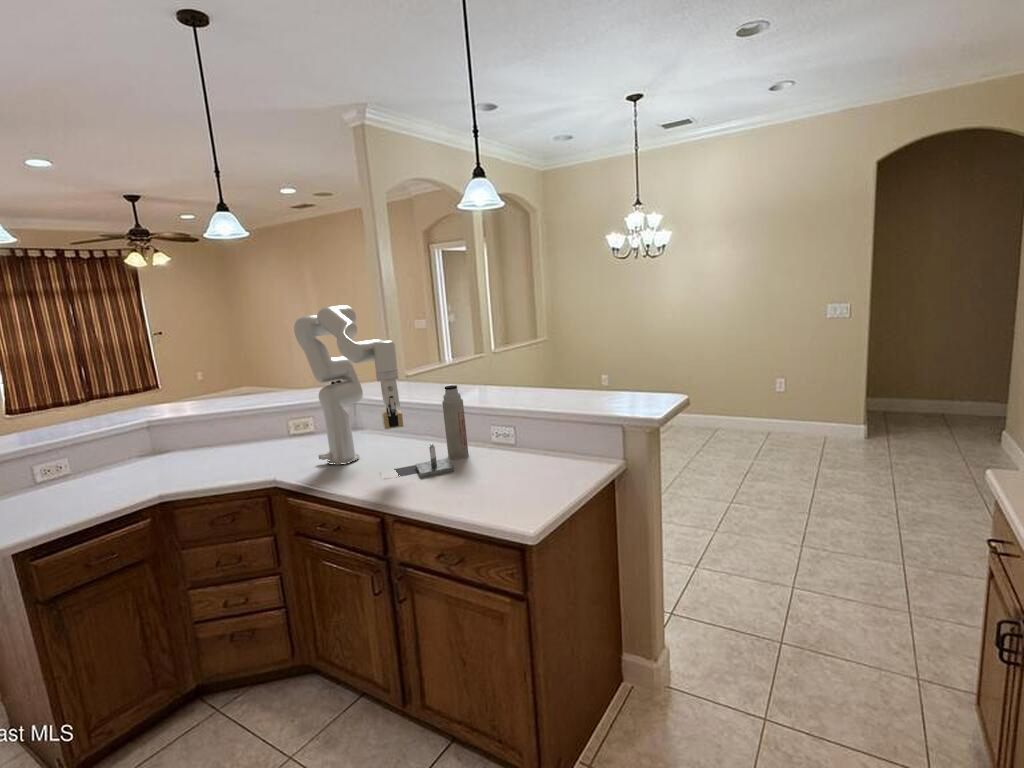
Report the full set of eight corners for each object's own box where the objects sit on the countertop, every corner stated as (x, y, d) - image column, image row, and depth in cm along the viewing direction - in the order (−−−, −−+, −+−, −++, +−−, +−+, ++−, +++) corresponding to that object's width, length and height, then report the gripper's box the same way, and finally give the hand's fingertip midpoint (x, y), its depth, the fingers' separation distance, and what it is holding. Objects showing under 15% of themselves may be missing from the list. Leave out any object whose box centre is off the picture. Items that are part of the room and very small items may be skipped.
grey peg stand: (421, 478, 186) (417, 451, 184) (415, 469, 197) (412, 443, 195) (454, 472, 190) (451, 445, 188) (447, 463, 201) (444, 437, 199)
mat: (381, 480, 188) (381, 480, 187) (379, 472, 197) (379, 471, 197) (421, 473, 192) (421, 472, 192) (416, 465, 201) (416, 464, 201)
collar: (385, 429, 188) (383, 415, 187) (383, 425, 194) (381, 412, 193) (403, 426, 190) (401, 413, 189) (401, 422, 196) (399, 409, 195)
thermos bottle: (472, 453, 210) (465, 384, 205) (458, 459, 204) (451, 388, 199) (457, 451, 215) (450, 383, 210) (444, 457, 209) (436, 387, 204)
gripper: (401, 377, 181) (406, 428, 185) (394, 371, 197) (400, 417, 201) (378, 380, 179) (384, 431, 182) (374, 373, 195) (380, 420, 198)
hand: (392, 423), depth 191 cm, fingers closed on collar, 6 cm apart
